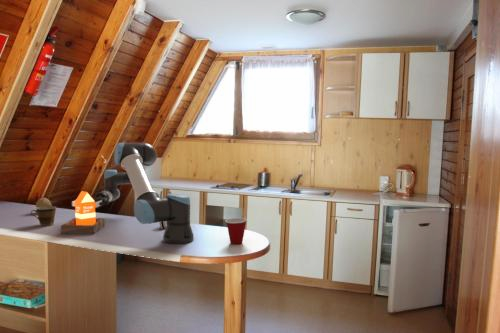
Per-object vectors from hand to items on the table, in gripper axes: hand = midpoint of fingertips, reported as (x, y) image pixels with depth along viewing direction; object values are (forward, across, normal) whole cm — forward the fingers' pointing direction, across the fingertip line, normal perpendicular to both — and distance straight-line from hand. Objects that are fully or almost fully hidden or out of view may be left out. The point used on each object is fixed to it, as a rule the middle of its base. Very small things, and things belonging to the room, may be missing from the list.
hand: (83, 204), depth 222 cm
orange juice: (+1, -2, -13) cm, 13 cm away
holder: (+2, 0, -14) cm, 14 cm away
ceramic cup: (-4, +27, -14) cm, 31 cm away
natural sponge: (-33, +47, -14) cm, 59 cm away
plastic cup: (+10, -86, -14) cm, 88 cm away
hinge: (-17, -43, -14) cm, 48 cm away
